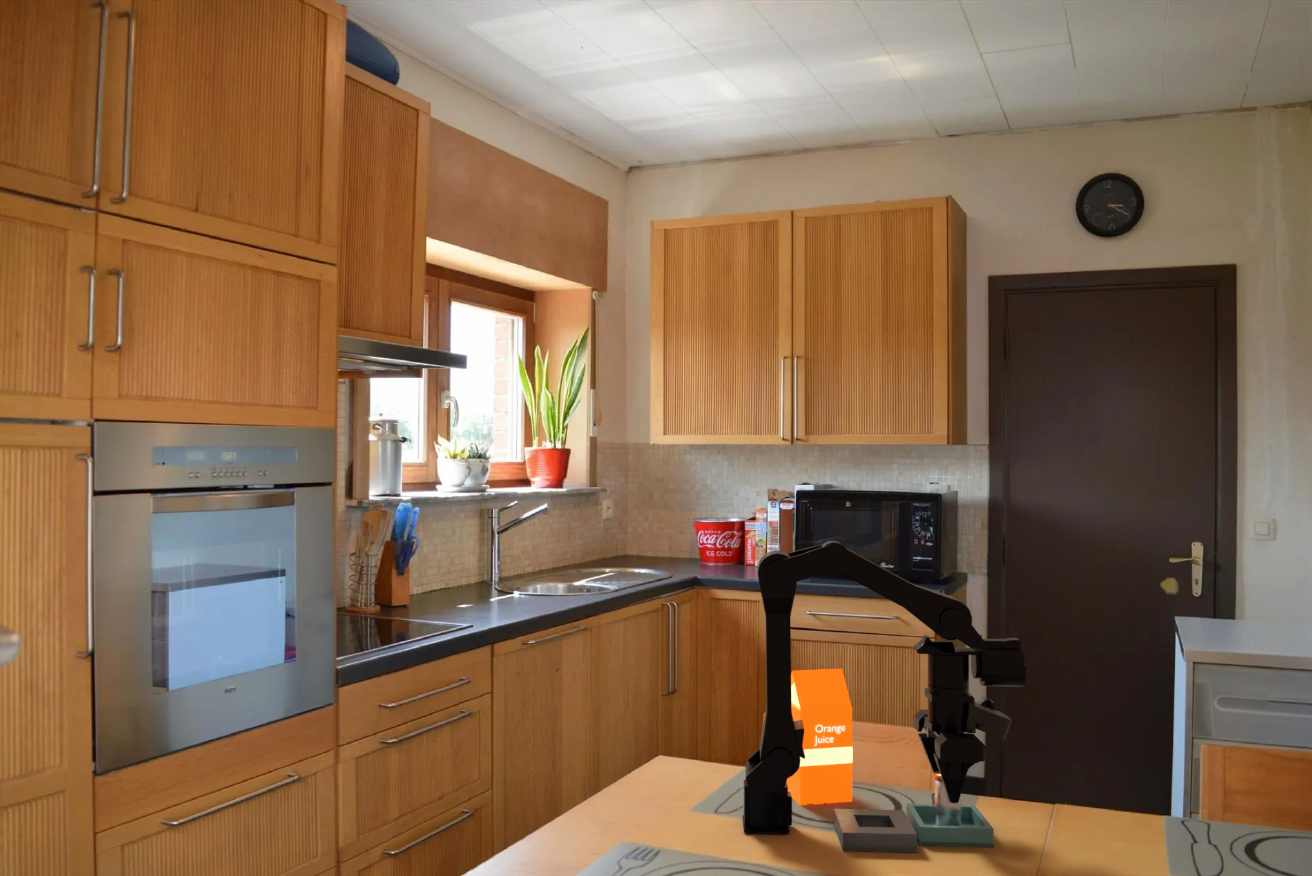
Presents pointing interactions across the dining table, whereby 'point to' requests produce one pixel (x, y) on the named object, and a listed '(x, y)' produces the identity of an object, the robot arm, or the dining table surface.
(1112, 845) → the dining table surface
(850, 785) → the orange juice
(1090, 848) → the dining table surface
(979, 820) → the tray
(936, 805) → the pin
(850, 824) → the grey flat square frame
